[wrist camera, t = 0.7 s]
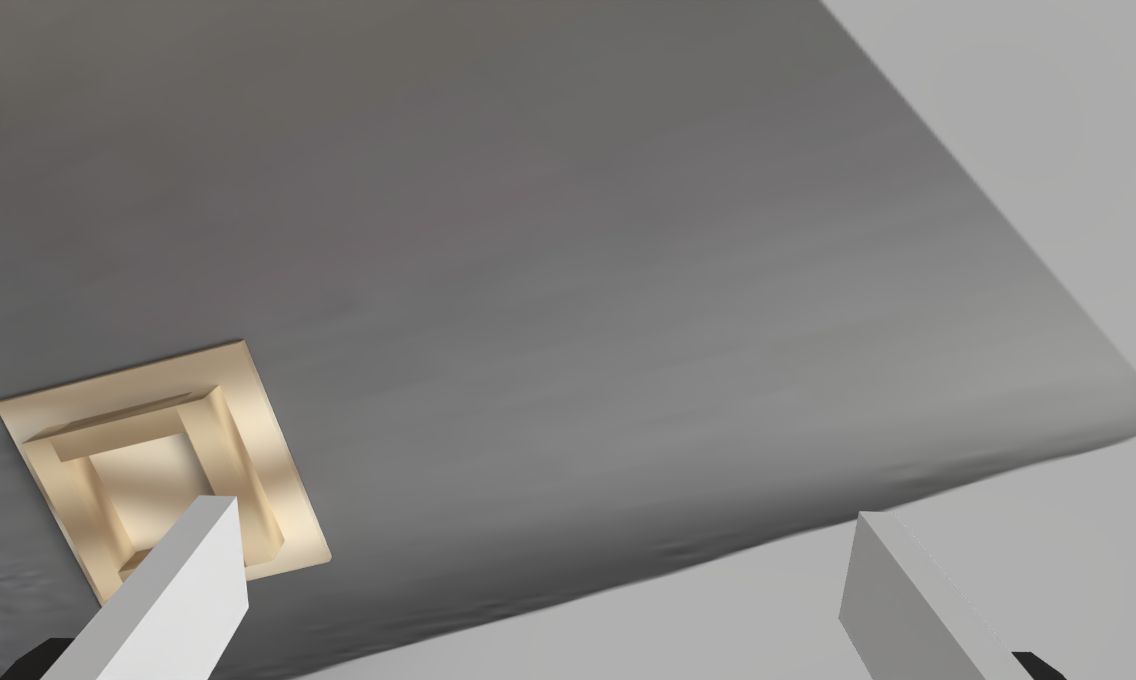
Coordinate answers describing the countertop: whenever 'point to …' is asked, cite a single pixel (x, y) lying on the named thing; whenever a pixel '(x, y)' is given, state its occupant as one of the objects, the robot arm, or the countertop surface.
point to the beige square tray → (165, 462)
